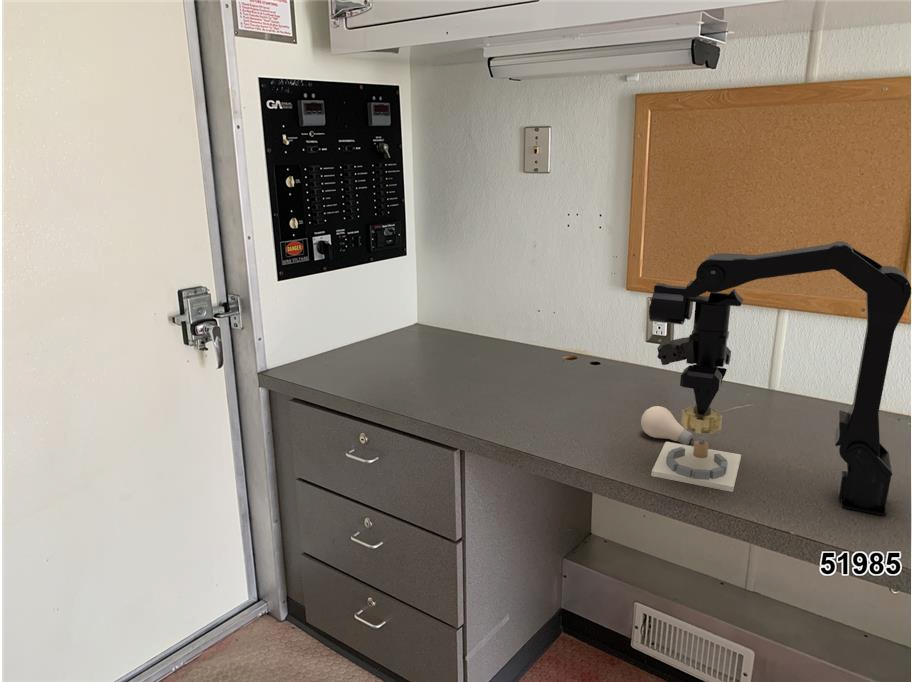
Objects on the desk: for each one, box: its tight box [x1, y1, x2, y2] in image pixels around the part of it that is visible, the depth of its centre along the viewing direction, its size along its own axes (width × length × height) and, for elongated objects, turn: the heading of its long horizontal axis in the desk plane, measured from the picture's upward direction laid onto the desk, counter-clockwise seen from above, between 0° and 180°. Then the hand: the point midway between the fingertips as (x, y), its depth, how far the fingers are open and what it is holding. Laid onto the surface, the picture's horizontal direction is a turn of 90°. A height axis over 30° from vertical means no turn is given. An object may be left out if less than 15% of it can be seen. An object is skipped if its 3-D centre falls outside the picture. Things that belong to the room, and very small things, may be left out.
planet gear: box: [680, 398, 723, 435], centre depth 128 cm, size 7×7×7 cm
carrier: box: [650, 439, 742, 493], centre depth 132 cm, size 14×14×4 cm
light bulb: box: [640, 405, 694, 445], centre depth 144 cm, size 7×7×11 cm
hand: (702, 411), depth 128 cm, fingers closed on planet gear, 3 cm apart
